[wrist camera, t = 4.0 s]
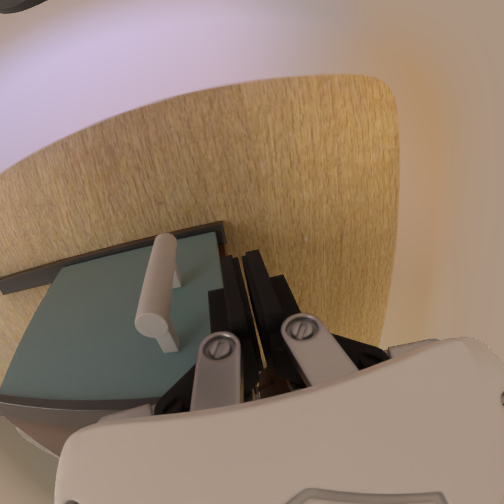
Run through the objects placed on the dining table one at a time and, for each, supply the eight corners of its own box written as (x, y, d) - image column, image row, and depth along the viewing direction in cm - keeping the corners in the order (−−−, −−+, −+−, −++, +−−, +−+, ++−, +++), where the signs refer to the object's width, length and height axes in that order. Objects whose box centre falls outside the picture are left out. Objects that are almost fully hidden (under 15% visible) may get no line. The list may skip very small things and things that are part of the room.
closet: (-2, 278, 21) (-66, 385, 7) (221, 220, 23) (258, 393, 9) (53, 360, 28) (26, 463, 14) (247, 333, 29) (279, 470, 16)
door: (48, 237, 19) (-35, 358, 7) (206, 194, 21) (220, 335, 9) (66, 276, 22) (7, 404, 10) (217, 242, 23) (242, 397, 11)
